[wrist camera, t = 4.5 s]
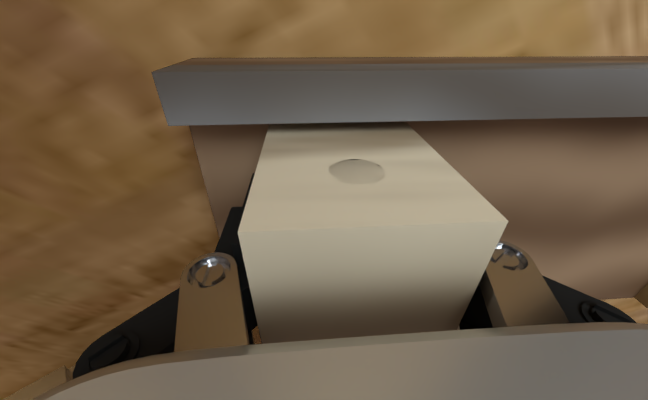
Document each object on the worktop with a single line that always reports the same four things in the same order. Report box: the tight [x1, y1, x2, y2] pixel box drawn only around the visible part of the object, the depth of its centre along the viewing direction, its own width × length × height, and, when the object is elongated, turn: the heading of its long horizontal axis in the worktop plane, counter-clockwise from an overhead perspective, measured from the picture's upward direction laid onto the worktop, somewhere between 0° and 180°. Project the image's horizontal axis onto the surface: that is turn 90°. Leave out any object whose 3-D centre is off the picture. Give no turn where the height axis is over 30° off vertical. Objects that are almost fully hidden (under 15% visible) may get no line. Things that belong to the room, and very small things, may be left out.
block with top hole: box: [238, 122, 508, 344], centre depth 10 cm, size 9×5×6 cm, turn 0°
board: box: [152, 56, 648, 308], centre depth 14 cm, size 14×28×4 cm, turn 90°
